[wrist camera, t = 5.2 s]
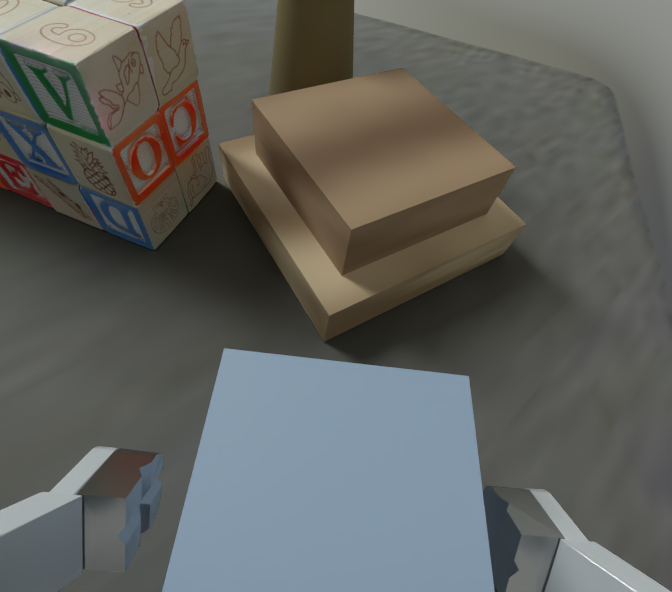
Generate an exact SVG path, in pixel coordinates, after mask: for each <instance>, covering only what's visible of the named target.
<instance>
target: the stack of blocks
mask: <svg viewBox="0 0 672 592" xmlns="http://www.w3.org/2000/svg"><path fill="white" fill-rule="evenodd" d="M197 76H198V68H197V63H196V57H195V53H194V47H193V41H192V36H191V31H190V26H189V20H188V15H187V10H186V5H185V2H184V0H0V187H1V188H3V189H6V190H12V191H13V192H15V193H18V194H20V195H23V196H25V197H27V198H30V199H32V200H34V201H38V202H40V203H42V204H44V205H47V206H49V207H52V208H54V209H55V210H56V211H57V212H60V213H62V214H65V215H67V216H70V217H72V218H74V219H77V220H79V221H82V222H84V223H86V224H89V225H91V226H94V227H96V228H99V229H102V230H106V231H108V232H109V233H112V234H114V235H116V236H119V237H121V238H123V239H126V240H129V241H132V242H134V243H136V244H139V245H141V246H144V247H146V248H148V249H152V250H155V249H156V248H157V247H158V246H159V245H160V244H161V243H162V242H163V241H164V240H165V239H166V238H167V236H168V235H169V234H170V233H171V232H172V231H173V230H174V229H175V227H176V226H177V225H178V224H179V223H180V222H181V221H182V220H183V218H184V217H185V216H186V215H187V213H188V212H190V211H191V210H192V209H193V208H194V207H195V206H196V205H197V204H198V203H199V201H200V200H201V199H202V198H203V197H204V196H205V195H206V193H207V192H208V191H209V190H210V189H211V188H212V186H213V185H214V184H215V182H216V180H217V179H216V172H215V167H214V162H213V157H212V153H211V148H210V144H209V139H208V135H209V134H208V128H207V123H206V118H205V113H204V108H203V103H202V98H201V93H200V89H199V85H198V81H197Z"/></svg>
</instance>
